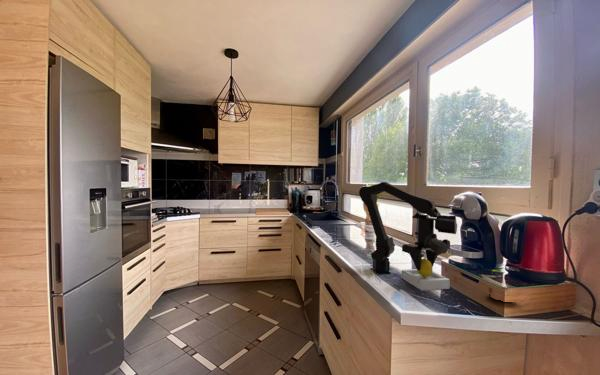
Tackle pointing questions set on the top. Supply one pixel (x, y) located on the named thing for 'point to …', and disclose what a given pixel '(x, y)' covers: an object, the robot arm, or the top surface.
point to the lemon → (425, 268)
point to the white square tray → (425, 280)
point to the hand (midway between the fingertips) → (424, 269)
